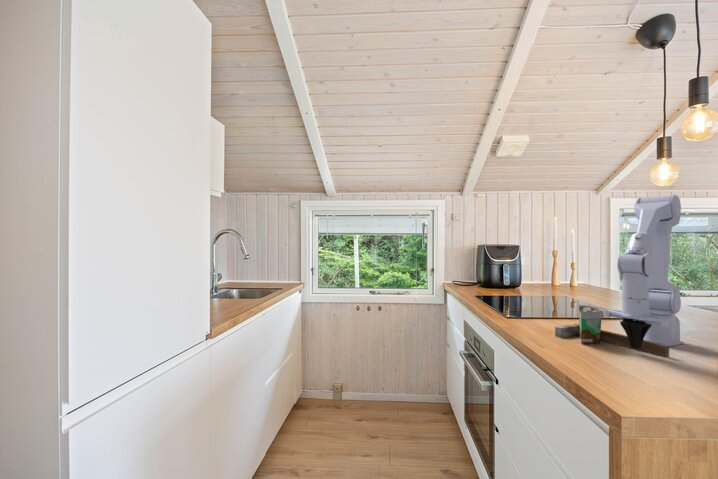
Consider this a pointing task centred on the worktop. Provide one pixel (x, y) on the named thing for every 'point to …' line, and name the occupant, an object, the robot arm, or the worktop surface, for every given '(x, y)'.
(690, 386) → the worktop surface
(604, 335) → the rail
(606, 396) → the worktop surface
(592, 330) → the food container
